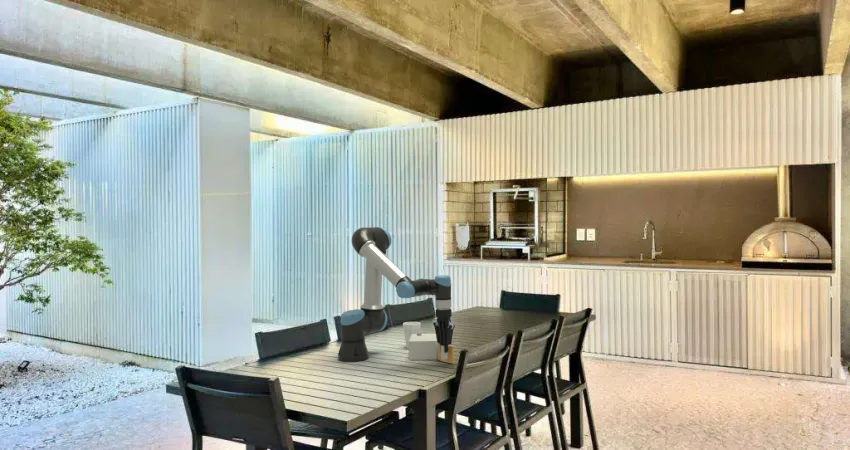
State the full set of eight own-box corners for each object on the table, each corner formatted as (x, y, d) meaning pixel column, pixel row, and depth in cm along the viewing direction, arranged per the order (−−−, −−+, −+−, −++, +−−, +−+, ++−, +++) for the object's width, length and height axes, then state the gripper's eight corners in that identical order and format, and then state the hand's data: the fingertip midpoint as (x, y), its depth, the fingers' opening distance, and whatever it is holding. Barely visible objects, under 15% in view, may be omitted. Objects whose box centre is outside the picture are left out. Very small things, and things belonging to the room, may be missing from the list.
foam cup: (422, 345, 324) (421, 321, 324) (420, 349, 315) (419, 324, 315) (404, 345, 325) (404, 321, 325) (402, 349, 315) (401, 324, 316)
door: (438, 358, 289) (437, 342, 289) (454, 363, 279) (454, 346, 279) (436, 359, 288) (435, 342, 288) (452, 363, 278) (452, 346, 278)
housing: (442, 359, 289) (441, 339, 289) (409, 359, 290) (408, 339, 290) (443, 351, 309) (442, 332, 309) (412, 351, 310) (411, 332, 310)
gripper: (458, 309, 277) (460, 360, 277) (440, 306, 287) (441, 355, 287) (446, 310, 272) (447, 362, 272) (428, 308, 282) (429, 358, 282)
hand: (444, 359), depth 279 cm, fingers closed
